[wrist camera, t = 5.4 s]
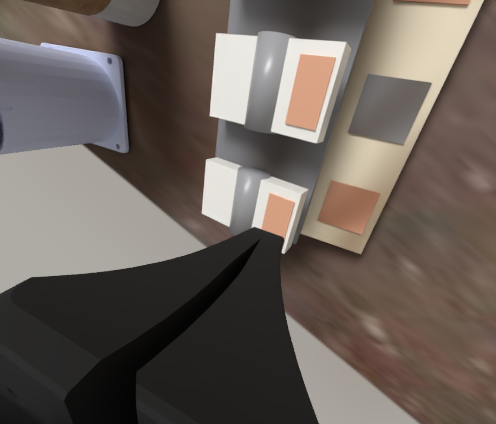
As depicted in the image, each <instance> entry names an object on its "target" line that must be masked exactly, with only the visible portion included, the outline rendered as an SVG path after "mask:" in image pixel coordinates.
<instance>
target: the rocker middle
mask: <svg viewBox="0 0 496 424" xmlns="http://www.w3.org/2000/svg"><path fill="white" fill-rule="evenodd" d="M350 51H351V48H350V46H349V45H348V44H347V42H339V41H324V40H309V39H298V38H296V37H294V36H291V35H288V34H284V33H279V32H273V31H261V32H258V36H249V35H234V34H219V33H216V43H215V55H214V68H213V80H212V93H211V105H210V116H213V117H216V118H220V119H224V120H228V121H232V122H236V123H240V124H243V125H244V127H245V128H246V129H249V130H253V131H257V132H262V133H268V134H282V135H286V136H290V137H294V138H297V139H301V140H305V141H309V142H313V143H320V142H323V140H324V137H325V133H326V130H327V127H328V124H329V120H330V117H331V114H332V110H333V107H334V104H335V101H336V97H337V94H338V91H339V88H340V84H341V81H342V78H343V74H344V71H345V68H346V65H347V61H348V58H349V55H350Z"/></svg>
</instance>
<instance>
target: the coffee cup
mask: <svg viewBox="0 0 496 424" xmlns="http://www.w3.org/2000/svg"><path fill="white" fill-rule="evenodd" d="M24 1H28V2H32V3H36V4H41V5H45V6H49V7H53V8H58V9H62V10H66V11H70V12H74V13H79V14H83V15H88V16H93V17H97V18H101V19H104V20H108V21H112V22H115V23H119V24H123V25H128V26H140V25H142V24H144V23H146V22H147V21H148V20H149V19H150V18H151V17H152V15H153V14H154V13H155V11H156V9H157V6H158V4H159V1H160V0H24Z"/></svg>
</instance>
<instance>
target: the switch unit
mask: <svg viewBox="0 0 496 424" xmlns="http://www.w3.org/2000/svg"><path fill="white" fill-rule="evenodd" d="M483 1H484V0H231V1H230V11H229V22H228V32H227V34H234V35H249V36H258V32H261V31H273V32H279V33H284V34H288V35H291V36H294V37H296V38H298V39H309V40H324V41H339V42H347V44H348V45H349V46H350V48H351V51H350V55H349V58H348V61H347V65H346V68H345V71H344V74H343V78H342V81H341V84H340V88H339V91H338V94H337V97H336V101H335V104H334V107H333V110H332V114H331V117H330V120H329V124H328V127H327V130H326V133H325V137H324V140H323V142H320V143H313V142H309V141H305V140H301V139H297V138H294V137H290V136H286V135H282V134H268V133H262V132H257V131H253V130H249V129H246V128H245V127H244V125H243V124H240V123H236V122H232V121H228V120H224V119H220V118H219V124H218V134H217V144H216V154H215V158H216V157H218V158H220V159H223V160H226V161H229V162H232V163H235V164H238V165H240V166H251V167H257V168H261V169H264V170H266V171H268V172H269V173H270V176H272V177H275V178H278V179H280V180H283V181H286V182H289V183H292V184H295V185H298V186H300V187H303V188H306V189H308V192H307V196H306V199H305V202H304V206H303V209H302V212H301V215H300V219H299V222H298V225H297V229H296V232H295V235H294V238H293V242H292V244H295V245H296V243H297V240H298V238H299V235H300V234H303V235H306V236H309V237H312V238H315V239H318V240H321V241H324V242H327V243H330V244H332V245H335V246H338V247H341V248H344V249H347V250H350V251H353V252H356V253H359V254H361V253H362V251H363V249H364V247H365V245H366V243H367V240H368V238H369V236H370V234H371V232H372V230H373V228H374V226H375V224H376V222H377V220H378V218H379V216H380V214H381V212H382V210H383V207H384V205H385V203H386V201H387V199H388V197H389V195H390V193H391V191H392V189H393V187H394V185H395V183H396V181H397V179H398V177H399V174H400V172H401V170H402V168H403V166H404V164H405V162H406V160H407V158H408V156H409V154H410V152H411V150H412V148H413V146H414V144H415V141H416V139H417V137H418V135H419V133H420V131H421V129H422V127H423V125H424V123H425V121H426V119H427V117H428V115H429V113H430V111H431V108H432V106H433V104H434V102H435V100H436V98H437V96H438V94H439V92H440V90H441V88H442V86H443V84H444V82H445V80H446V78H447V75H448V73H449V71H450V69H451V67H452V65H453V63H454V61H455V59H456V57H457V55H458V53H459V51H460V49H461V47H462V45H463V43H464V40H465V38H466V36H467V34H468V32H469V30H470V28H471V26H472V24H473V22H474V20H475V18H476V16H477V14H478V12H479V10H480V7H481V5H482V3H483Z"/></svg>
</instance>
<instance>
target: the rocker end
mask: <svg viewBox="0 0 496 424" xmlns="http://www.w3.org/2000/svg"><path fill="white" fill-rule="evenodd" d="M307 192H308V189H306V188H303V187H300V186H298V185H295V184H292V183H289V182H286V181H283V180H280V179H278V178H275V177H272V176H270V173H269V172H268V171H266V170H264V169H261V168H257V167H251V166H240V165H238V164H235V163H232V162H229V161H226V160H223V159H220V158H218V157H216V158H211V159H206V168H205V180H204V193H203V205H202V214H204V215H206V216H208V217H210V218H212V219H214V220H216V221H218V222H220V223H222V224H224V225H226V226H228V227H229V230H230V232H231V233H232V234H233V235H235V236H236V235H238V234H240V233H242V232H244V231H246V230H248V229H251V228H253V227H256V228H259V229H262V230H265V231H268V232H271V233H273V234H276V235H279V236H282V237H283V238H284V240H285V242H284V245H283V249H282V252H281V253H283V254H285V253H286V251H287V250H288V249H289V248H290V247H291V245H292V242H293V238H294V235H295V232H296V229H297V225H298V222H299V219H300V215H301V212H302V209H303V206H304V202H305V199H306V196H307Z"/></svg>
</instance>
